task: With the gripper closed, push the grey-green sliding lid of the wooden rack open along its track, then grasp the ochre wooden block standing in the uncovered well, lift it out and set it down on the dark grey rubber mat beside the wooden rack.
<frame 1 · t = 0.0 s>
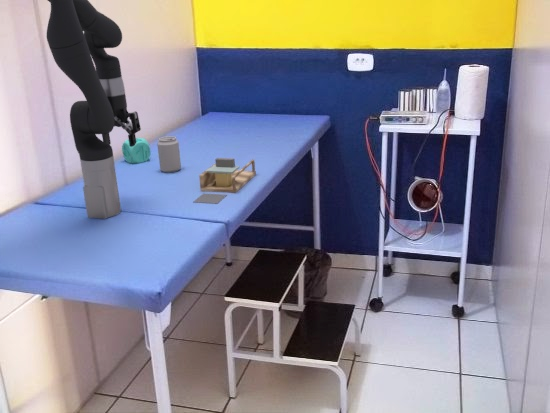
hand: (120, 145, 185), 17 cm above the table, tool pointing down, fingers open, 8 cm apart
lid: (222, 165, 194), point 8 cm above the table, slide at 0.0 cm
mat: (210, 200, 185), on the table
decorative dice: (137, 161, 233), on the table
can: (170, 170, 218), on the table
wooden rack: (228, 184, 200), on the table
block: (224, 186, 196), resting on wooden rack
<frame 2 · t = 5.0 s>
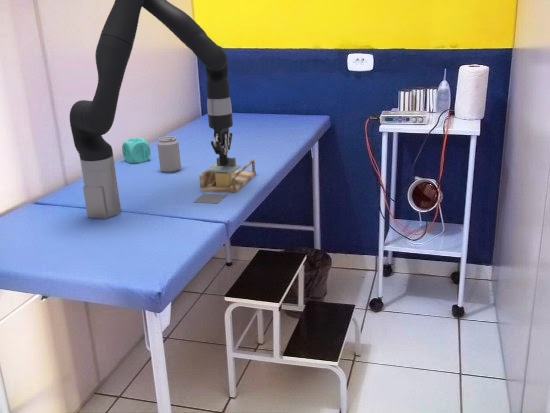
hand: (224, 165, 194), 7 cm above the table, tool pointing down, fingers closed
lid: (223, 164, 194), point 8 cm above the table, slide at 1.0 cm, touching gripper
everything else where it was.
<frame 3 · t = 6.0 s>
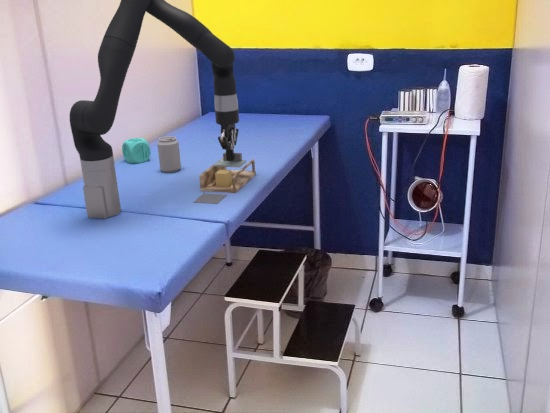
hand: (230, 160, 199), 7 cm above the table, tool pointing down, fingers closed
lid: (230, 159, 200), point 8 cm above the table, slide at 6.8 cm, touching gripper
everything else where it was.
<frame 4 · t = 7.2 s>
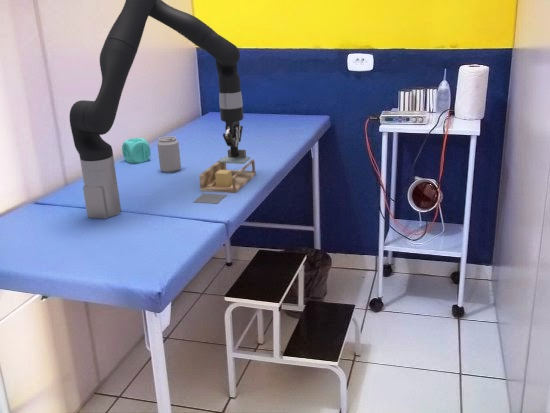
hand: (234, 156, 203), 7 cm above the table, tool pointing down, fingers closed
lid: (234, 156, 203), point 8 cm above the table, slide at 11.1 cm, touching gripper
everything else where it was.
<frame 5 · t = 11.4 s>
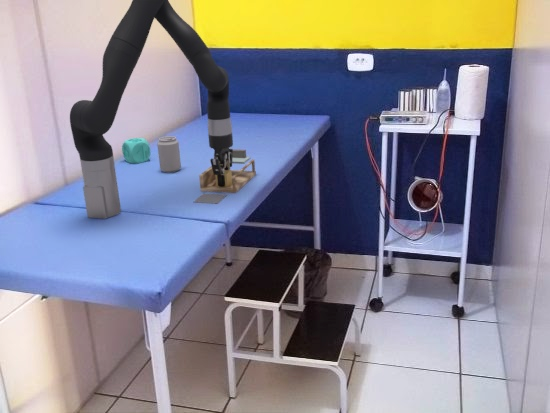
hand: (224, 183, 196), 1 cm above the table, tool pointing down, fingers closed on block, 4 cm apart
lid: (234, 156, 204), point 8 cm above the table, slide at 11.1 cm
block: (224, 186, 196), point 1 cm above the table, touching wooden rack, gripper
everything else where it was.
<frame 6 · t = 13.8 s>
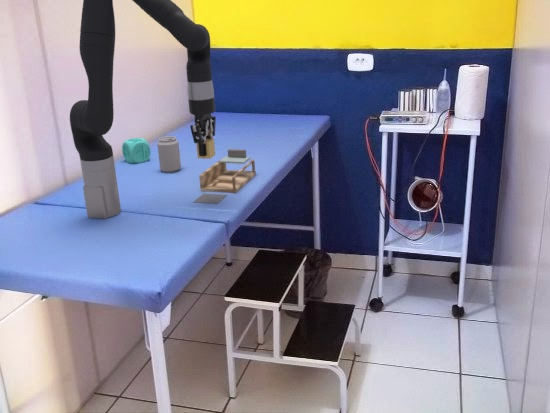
hand: (206, 153, 180), 15 cm above the table, tool pointing down, fingers closed on block, 4 cm apart
block: (206, 156, 181), point 14 cm above the table, touching gripper
everything else where it was.
when the fingers open (3 cm above the table, at t = 16.2 s): block drops 2 cm, resting on mat.
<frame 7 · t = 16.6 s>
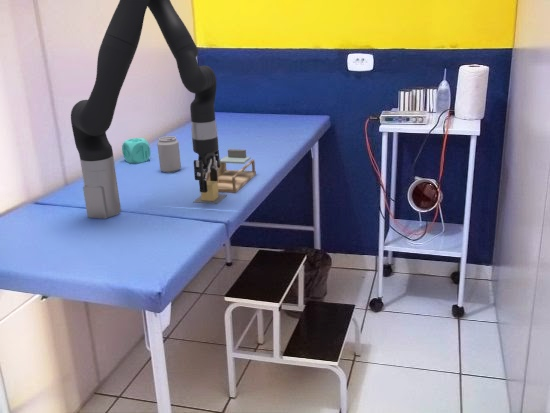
hand: (209, 187, 184), 4 cm above the table, tool pointing down, fingers open, 8 cm apart
block: (210, 198, 185), point 1 cm above the table, touching mat
everything else where it was.
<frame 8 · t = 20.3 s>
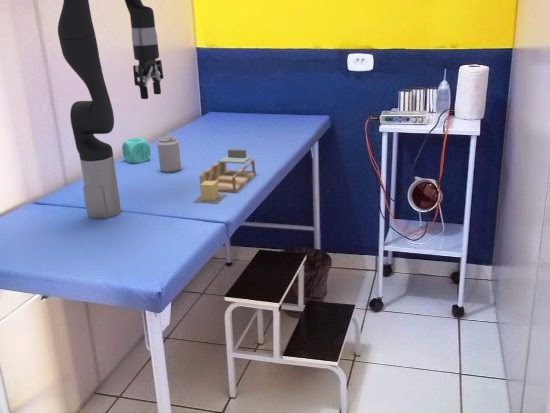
hand: (151, 96, 189), 30 cm above the table, tool pointing down, fingers open, 8 cm apart
nothing on the table moved.
at the end: block inside the target area on the mat (0.1 cm from its centre), point 0.6 cm above the mat's base; block tilted 0°; lid slide at 11.1 cm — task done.
